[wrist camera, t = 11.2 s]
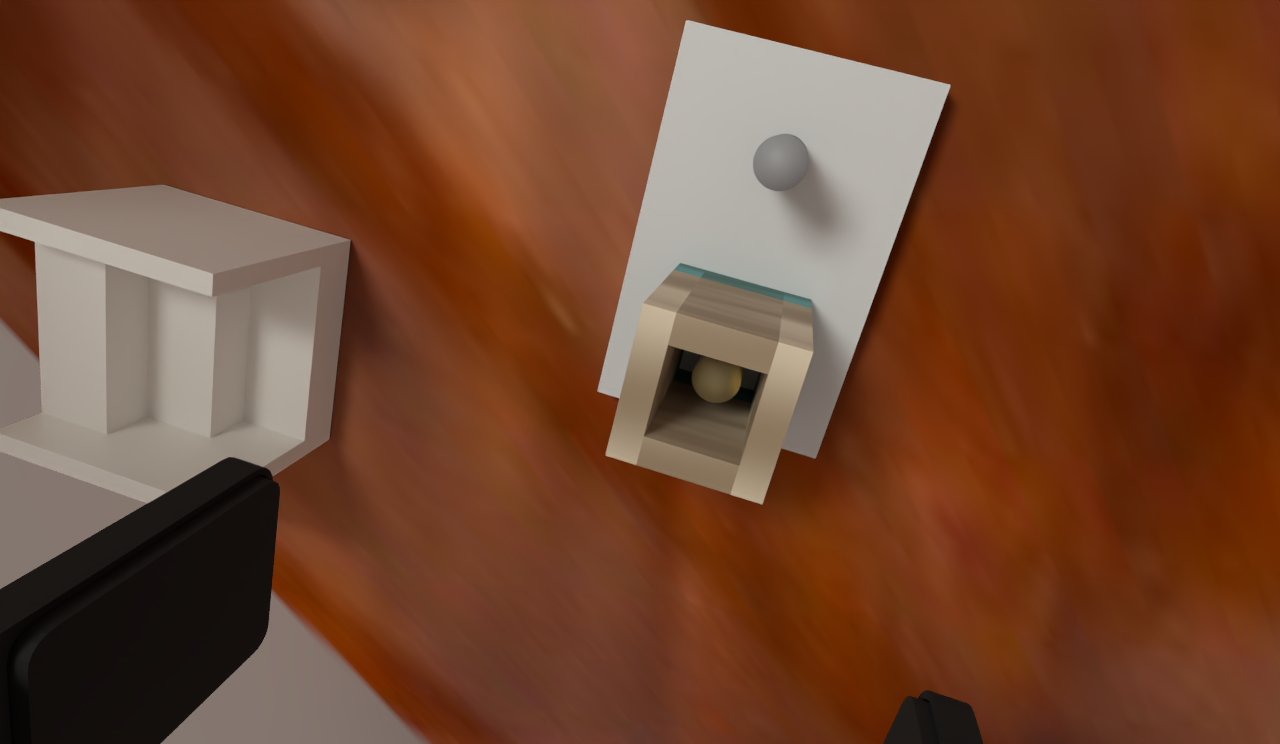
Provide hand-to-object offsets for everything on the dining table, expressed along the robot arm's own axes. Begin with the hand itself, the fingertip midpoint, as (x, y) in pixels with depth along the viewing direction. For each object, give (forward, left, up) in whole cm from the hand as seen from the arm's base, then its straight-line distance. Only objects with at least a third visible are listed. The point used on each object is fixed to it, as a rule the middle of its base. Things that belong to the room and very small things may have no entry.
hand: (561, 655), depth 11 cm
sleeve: (+1, -1, -19) cm, 19 cm away
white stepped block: (-20, -6, -21) cm, 29 cm away
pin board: (+1, +3, -21) cm, 21 cm away
